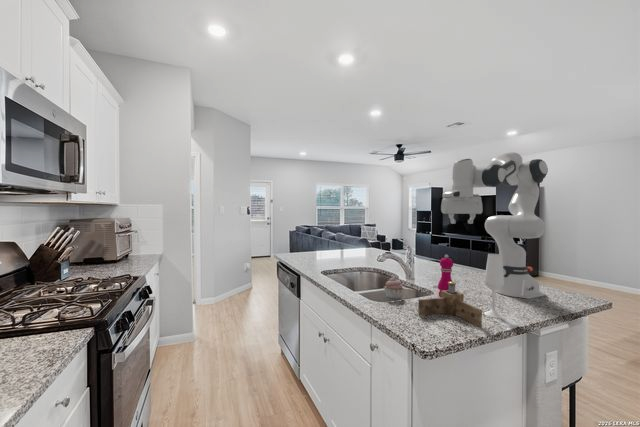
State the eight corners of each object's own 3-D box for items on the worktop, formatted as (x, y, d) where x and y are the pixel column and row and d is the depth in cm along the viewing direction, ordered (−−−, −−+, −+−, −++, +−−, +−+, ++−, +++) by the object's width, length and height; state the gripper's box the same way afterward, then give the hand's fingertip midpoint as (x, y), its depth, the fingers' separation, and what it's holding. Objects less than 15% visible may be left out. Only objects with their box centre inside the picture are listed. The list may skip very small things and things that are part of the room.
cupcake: (398, 302, 130) (398, 280, 130) (379, 298, 136) (380, 276, 136) (407, 297, 137) (407, 276, 137) (389, 293, 143) (389, 273, 143)
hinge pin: (452, 302, 120) (452, 281, 120) (457, 304, 117) (457, 283, 117) (446, 302, 120) (446, 281, 120) (450, 304, 117) (451, 283, 117)
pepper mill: (450, 294, 143) (451, 253, 143) (456, 298, 136) (457, 256, 136) (435, 293, 144) (436, 253, 144) (440, 298, 137) (441, 255, 136)
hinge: (444, 330, 100) (444, 307, 100) (414, 312, 118) (415, 292, 118) (487, 325, 105) (487, 303, 105) (452, 308, 122) (453, 289, 122)
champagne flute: (505, 318, 112) (507, 256, 111) (486, 316, 114) (487, 255, 113) (500, 312, 118) (501, 253, 118) (482, 310, 120) (483, 252, 120)
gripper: (475, 194, 141) (475, 223, 141) (439, 193, 136) (438, 223, 136) (486, 194, 135) (485, 224, 135) (448, 193, 130) (447, 224, 130)
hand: (461, 223), depth 135 cm, fingers open, 8 cm apart
